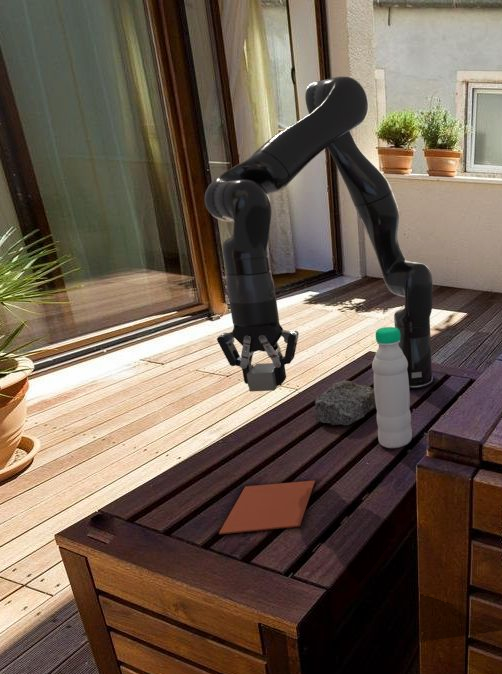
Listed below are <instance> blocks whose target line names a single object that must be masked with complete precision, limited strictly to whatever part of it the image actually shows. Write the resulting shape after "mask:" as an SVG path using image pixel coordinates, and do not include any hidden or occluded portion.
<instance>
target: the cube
mask: <svg viewBox="0 0 502 674" xmlns="http://www.w3.org/2000/svg"><path fill="white" fill-rule="evenodd" d="M253 366H254V367H253V368H252V369H251V370H250V371H249V372H248V373H247V379H248V384H247V386H248V385H249V387H248V390H249V392H250V393H251V392H274V391H275V390H276V389H277V388H278V387H279V385H277V384H276V378H275V371H274V367H275V365H274V364H273V362H267V363H265V362H264V363H255V364H254V365H253Z"/></svg>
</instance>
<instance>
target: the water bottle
mask: <svg viewBox="0 0 502 674" xmlns="http://www.w3.org/2000/svg"><path fill="white" fill-rule="evenodd" d="M375 340H376V344H377V345H378V349H377V350H376V352H375V355H374V357H373V359H372V363H371V369H372V371H373V389H374V394H375V403H376V406H375V409H376V424H377V439H378V443H379V444H380V445H381V446H382V447H384V448H387V449H399V448H403V447H405V446H407V445H409V443H411V441H412V439H413V430H412V424H411V422H412V414H411V413H412V412H411V410H410V406H411V405H410V403H411V402H410V401H411V400H410V399H411V398H410V397H411V396H410V389H409V379H408V372H407V368H408V362H407V359H406V357H405V355H404V354H403V352H402V350H401V348H400V347H399V345H398V344H399V342H400V330H399V329H397V328H395V326H383V327H380V328H378V329H377V330H376V331H375Z"/></svg>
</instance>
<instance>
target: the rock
mask: <svg viewBox="0 0 502 674" xmlns="http://www.w3.org/2000/svg"><path fill="white" fill-rule="evenodd" d="M374 408H376V403H375V394H374V388H373V387H371V386H369V385H363V384H362V385H360V384H357V383H356V382H355V381H351V380H347V379H345V380H340V381H337V382H334V383H333V384H332V385H331V386H328V387H327V389H326V391H324V392H323V393H322V394H321V395H319V396H318V397H316V398H315V401H314V409H315V419H316V421H318V422H320V423H323V424H331V425H333V426H340V425H342V426H349V425H351V424H354V423H355V422H356V421H358V420H360V419H364V418H365V415H366V414H367V413H369V412H370V411H371V410H372V409H374Z"/></svg>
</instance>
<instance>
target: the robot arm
mask: <svg viewBox="0 0 502 674" xmlns="http://www.w3.org/2000/svg"><path fill="white" fill-rule="evenodd" d="M304 95H305V97H304V98H305V105H306V110H307V112H308V115H306V116H304V117H303V118H301V119H300V120H298V121H296V122H295V123H293V124H291V125H289V126H288V127H286V128H284V129H282V130H281V131H279V132H277V133H276V134H275V135H273V136H272V137H271V138H269V139H268V140H267V141H266V142H265V143H263V144H262V145H261V146H260V147H258V149H257V150H256V151H254V153H253V154H252V155H251V156H250V157H249V158H247V159H246V160H244V161H242V162H240V163H238V164H236V165H235V166H233V167H232V168H230V169H227V170H226V171H224V172H223V173H221V174H220V175H218V176H216V178H214V179H213V180H212V181H211V182H210V184H209V185H208V186H207V188H206V190H205V194H204V205H205V208H206V210H207V211H208V213H209V214H210V215H211V216H212V217H214V218H215V219H217V220H219V221H222V222H227V223H233V234H232V237H229V238H227V239H225V240H224V241H223V242H222V247H221V248H222V257H223V263H224V267H225V268H224V269H225V276H226V290H227V291H226V295H227V298H228V302H229V303H228V304H229V308H230V313H231V320H232V324H233V329H232V331H230V332H223V333H221V334H220V335H219V336H217V338H216V341H217V343H218V345H219V347H220V349H221V350H222V353H223V355H224V357H225V358H226V361H227V362H228V365H229V366H230V367H239V368H241V370H242V376H243V382H244V383H245V385H247V386H248V388H249V385H248V379H247V373H248V372H249V371H250V370H251V369H252V368H253V367H254V366H255V365H254V364H252V361H253V357H254V354H255V352H265V353H266V354H267V356H268V358H270V359H271V361H272V362H271V363H273V364H274V365H275V367H274V371H275V378H276V384H277V385H278V386H282V385H283V383H284V382H285V381H286V379H287V373H286V365H289V364H291V362H293V360H294V359H295V354H296V350H297V344H298V339H299V331H298V330H293V331H289V330H285V329H284V328H283V327H282V325H281V323H280V316H279V309H278V304H277V303H278V302H277V296H276V287H275V281H274V278H273V275H272V269H271V263H270V255H269V249H268V246H269V241H270V240H269V239H270V233H271V225H272V215H273V214H272V213H273V210H272V208H273V207H272V202H271V198H270V196H269V195H270V194H275V193H279V192H280V191H282V190H283V189H285V188H286V187H287V186H288V185H289V184H290V183H291V182H292V181H293V180H294V179H295V178H296V177H297V176H298V175H299V174H300V172H302V170H303V169H304V168H305V167H306V166H307V165H309V164H310V163H311V162H312V161H313V160H314V159H315V158H316V157H317V156H318V155H319V154H321V153H322V152H323V151H324V150H325V149H327V150H328V152H329V154H330V156H331V157H332V159H333V161H334V163H335V166H336V168H337V169H338V172H339V175H340V176H341V178H342V180H343V182H344V185H345V187H346V189H347V191H348V194H349V196H350V199H351V201H352V203H353V206H354V207H355V210H356V212H357V215H358V217H359V219H360V221H361V223H362V225H363V227H364V229H365V232H366V234H367V237H368V240H369V242H370V244H371V246H372V248H373V251H374V254H375V256H376V259H377V262H378V265H379V269H380V272H381V274H382V278H383V281H384V283H385V285H386V288H387V289H388V290H389V291H390V293H392V294H393V295H396V296H398V297H402V298H404V308H401V309H398V310H396V311H395V312H394V315H393V321H394V322H393V323H394V328H397V329H399V330H400V342H399V344H398V345H399V347H400V348H401V350H402V352H403V354H404V355H405V357H406V359H407V362H408V368H407V372H408V379H409V390H417V389H423V388H427V387H429V386H431V384H433V382H434V381H433V363H432V339H431V338H432V337H431V314H432V311H433V292H434V291H433V290H434V289H433V287H434V286H433V275H432V272H431V270H430V268H429V267H428V266H427V265H426V264H424V263H421V262H416V261H410V260H407V259H406V256H405V255H404V253H403V250H402V248H401V246H400V242H399V238H398V233H399V223H400V209H399V206H398V203H397V199H396V196H395V195H394V192H393V190H392V187H391V185H390V182H389V181H388V179H387V177H385V176H384V175H383V173H382V172H381V171H380V170H379V169H378V167H376V165H375V164H373V162H371V161H370V160H369V158H368V157H367V156H366V155H365V154H364V153H363V152H362V151H361V149H360V147H359V146H358V144H357V143H356V141H355V138H354V136H353V134H352V132H351V130H353V129H355V128H357V127H359V126H360V125H361V124H363V122H364V121H365V120H366V118H367V116H368V113H369V99H368V94H367V92H366V90H365V89H364V87H363V85H361V83H360V82H359V81H358V80H356V79H355V78H353V77H350V76H336V77H330V78H327V79H322V80H318V81H317V80H316V81H314V82H312V83H310V84H308V86H307V88H306V90H305V94H304ZM281 337H282V338H283V341H284V343H285V344H286V347H285V353H284V355H283V353H282V350H281V347H280V345H279V343H278V342H279V340H280V339H281ZM235 340H236V341H237V342H238V343H239V344H240V345H241V346H242V347H241V348H242V350H241V353H239V351H238V350H237V348H236V346H235Z"/></svg>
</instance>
